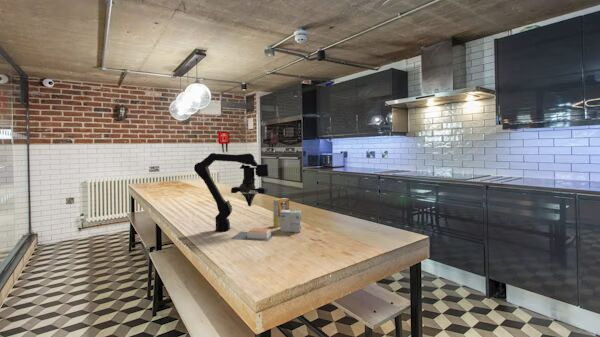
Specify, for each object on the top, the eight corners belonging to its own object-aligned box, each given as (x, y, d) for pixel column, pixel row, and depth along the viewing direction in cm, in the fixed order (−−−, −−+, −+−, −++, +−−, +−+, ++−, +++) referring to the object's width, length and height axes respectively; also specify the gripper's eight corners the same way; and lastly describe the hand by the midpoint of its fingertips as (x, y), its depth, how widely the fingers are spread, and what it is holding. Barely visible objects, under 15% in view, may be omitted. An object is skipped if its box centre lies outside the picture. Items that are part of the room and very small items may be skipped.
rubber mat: (229, 239, 157) (229, 239, 157) (241, 232, 171) (241, 231, 170) (267, 242, 153) (267, 241, 153) (276, 234, 167) (275, 233, 166)
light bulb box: (301, 229, 176) (301, 209, 175) (300, 232, 169) (300, 212, 168) (282, 229, 177) (281, 209, 176) (280, 232, 170) (279, 211, 170)
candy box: (284, 223, 188) (283, 197, 187) (289, 225, 186) (289, 198, 184) (273, 226, 182) (272, 199, 181) (278, 228, 179) (278, 200, 178)
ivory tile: (247, 231, 158) (266, 232, 156) (252, 227, 165) (271, 228, 163) (247, 237, 159) (266, 238, 157) (252, 234, 165) (271, 235, 163)
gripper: (226, 178, 167) (226, 208, 168) (260, 178, 163) (261, 209, 164) (234, 176, 178) (235, 204, 179) (267, 176, 174) (268, 205, 175)
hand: (249, 206), depth 174 cm, fingers closed
